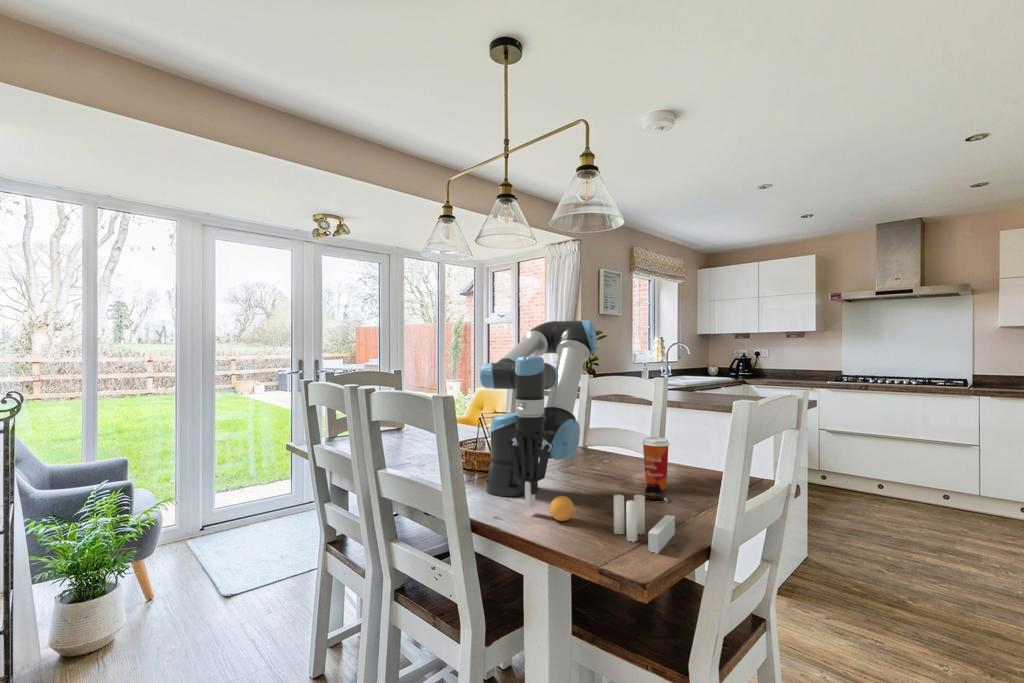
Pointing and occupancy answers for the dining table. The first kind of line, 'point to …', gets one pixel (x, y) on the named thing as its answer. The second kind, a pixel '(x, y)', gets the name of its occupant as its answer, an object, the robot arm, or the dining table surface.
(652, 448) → the coffee cup
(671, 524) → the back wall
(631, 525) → the pin
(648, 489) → the dark piece
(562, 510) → the ball
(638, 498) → the pin
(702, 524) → the dining table surface
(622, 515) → the front pin
